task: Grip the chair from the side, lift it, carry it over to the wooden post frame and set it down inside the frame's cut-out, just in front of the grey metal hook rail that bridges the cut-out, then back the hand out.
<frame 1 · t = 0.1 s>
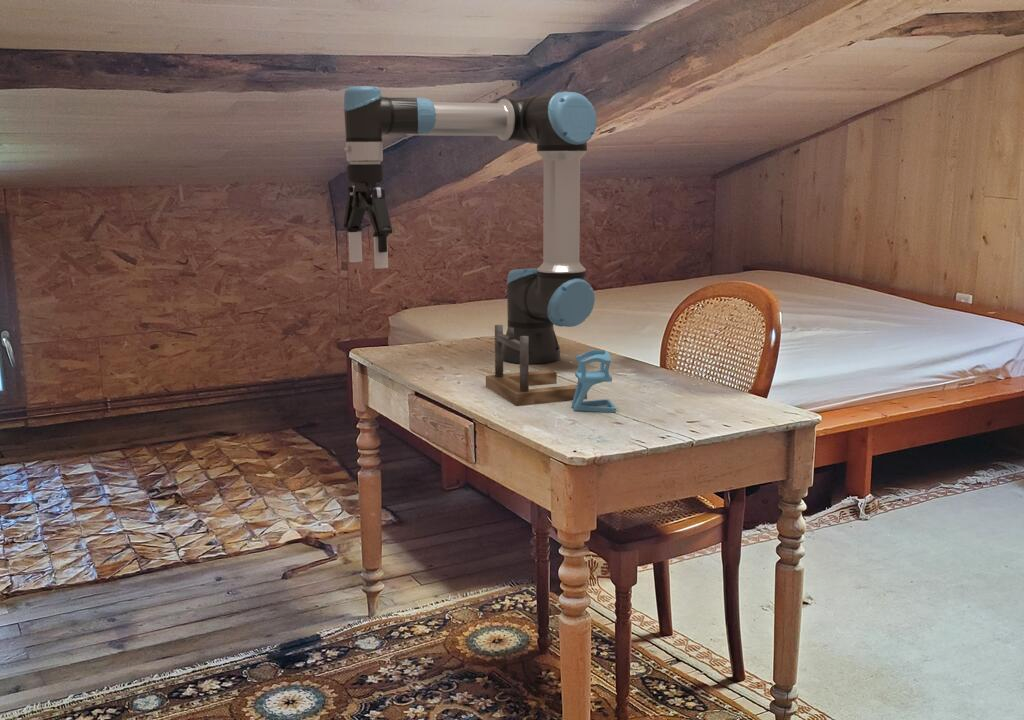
hand: (368, 265, 211), 28 cm above the table, fingers open, 13 cm apart
chair: (592, 409, 202), on the table
wooden post frame: (534, 392, 216), on the table
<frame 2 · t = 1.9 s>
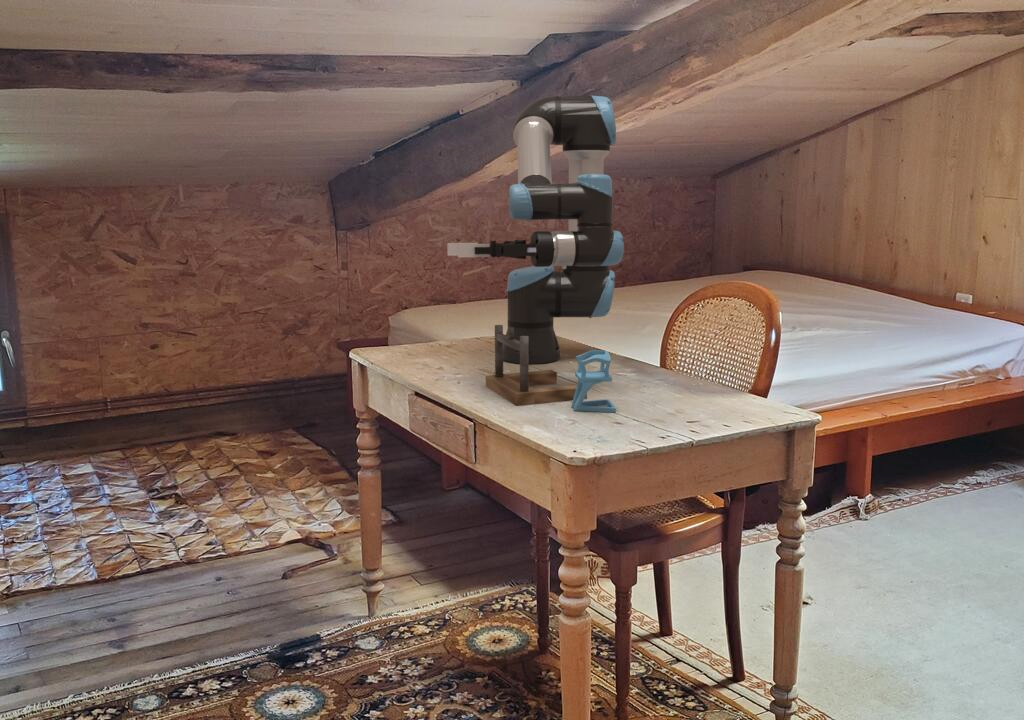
hand: (452, 250, 207), 31 cm above the table, fingers open, 13 cm apart
nothing on the table moved.
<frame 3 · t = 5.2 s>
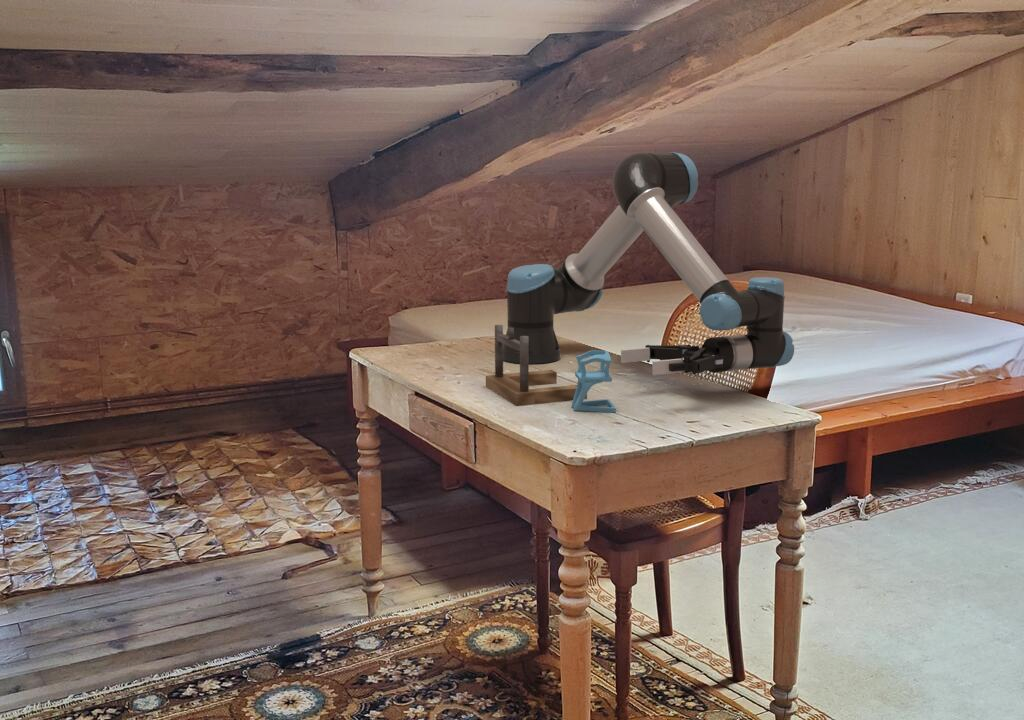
hand: (636, 362, 204), 9 cm above the table, fingers open, 13 cm apart
nothing on the table moved.
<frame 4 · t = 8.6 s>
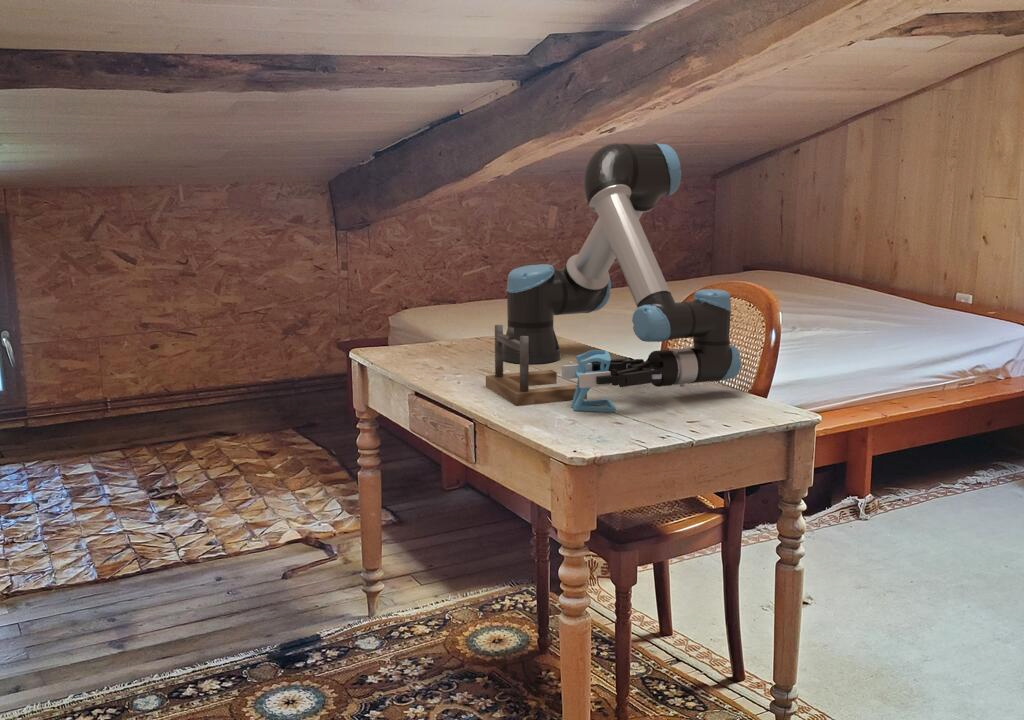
hand: (571, 376, 199), 7 cm above the table, fingers closed on chair, 8 cm apart
chair: (592, 409, 202), on the table, touching gripper
everything else where it was.
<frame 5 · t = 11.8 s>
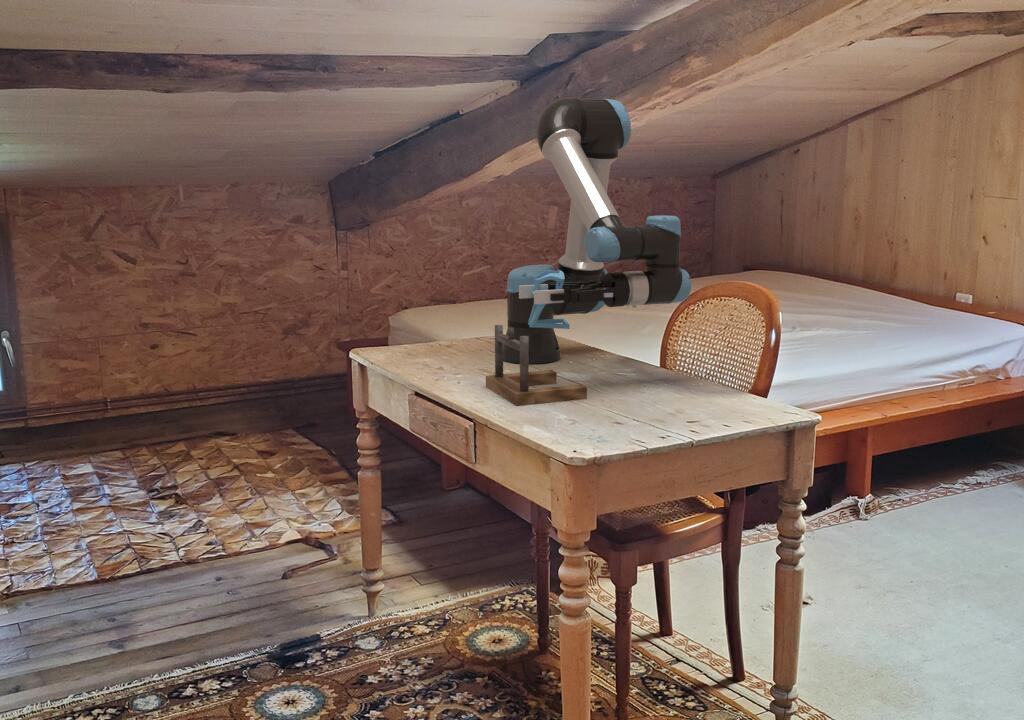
hand: (527, 294, 209), 22 cm above the table, fingers closed on chair, 8 cm apart
chair: (547, 327, 213), point 15 cm above the table, touching gripper
everything else where it was.
when the fingers open (8 cm above the table, at t = 15.1 s): chair moves 1 cm, on the table.
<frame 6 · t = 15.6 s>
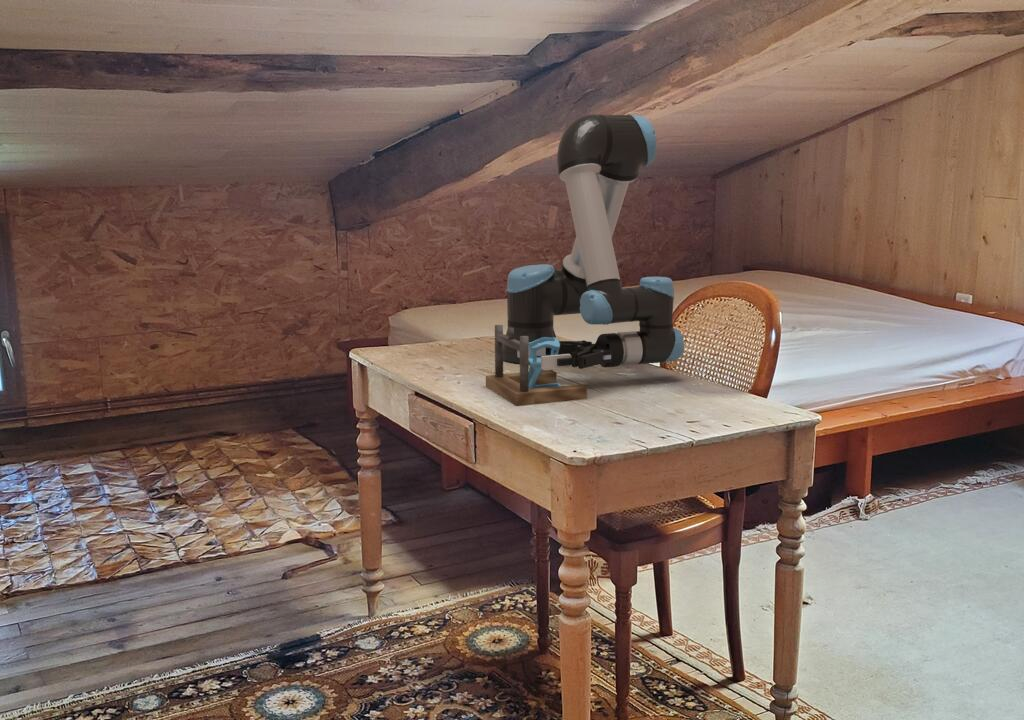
hand: (529, 356, 214), 8 cm above the table, fingers open, 13 cm apart
chair: (543, 392, 217), on the table
everything else where it was.
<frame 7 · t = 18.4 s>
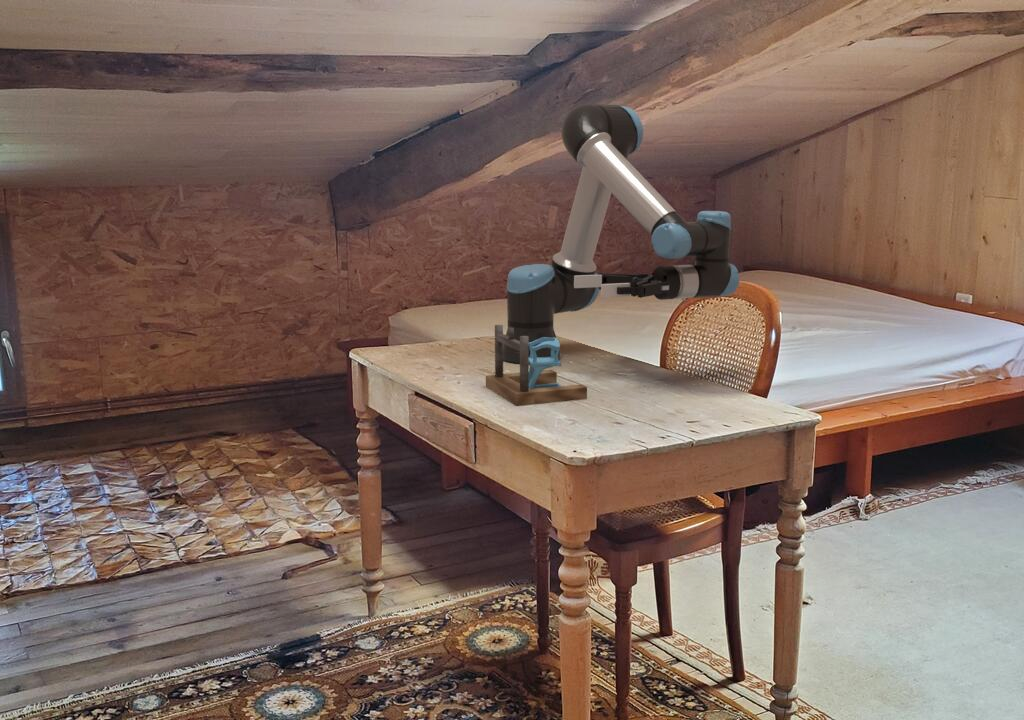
hand: (587, 286, 215), 23 cm above the table, fingers open, 13 cm apart
nothing on the table moved.
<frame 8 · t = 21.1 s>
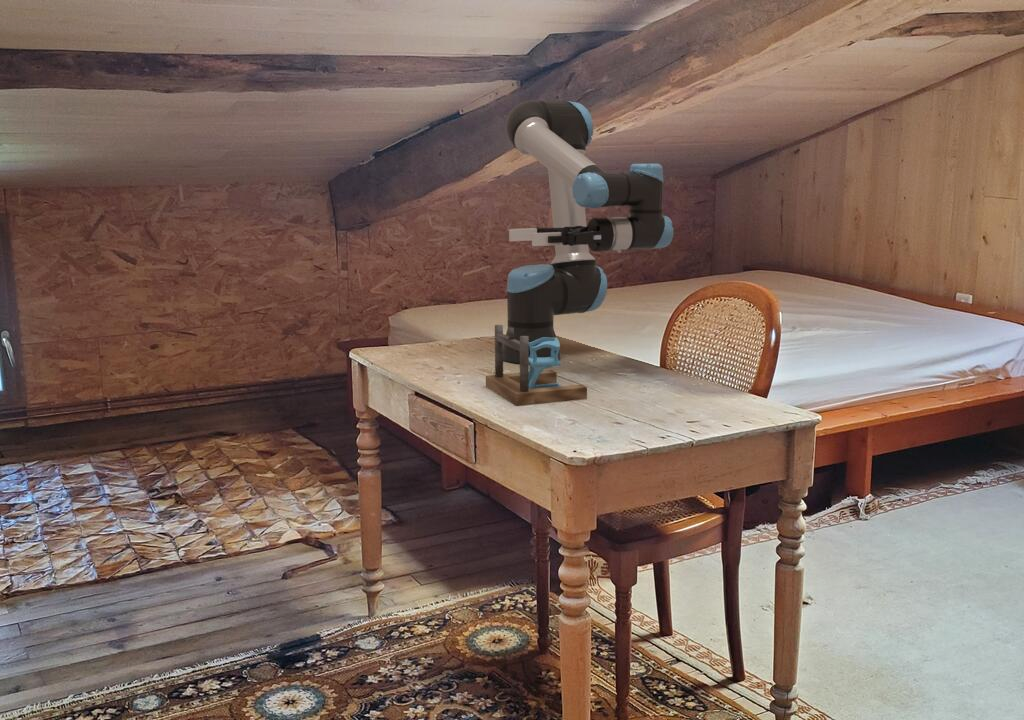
hand: (520, 237, 218), 33 cm above the table, fingers open, 13 cm apart
nothing on the table moved.
at the end: chair inside the target area (0.2 cm from its centre), on the table; chair tilted 0°; the gripper is holding nothing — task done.
